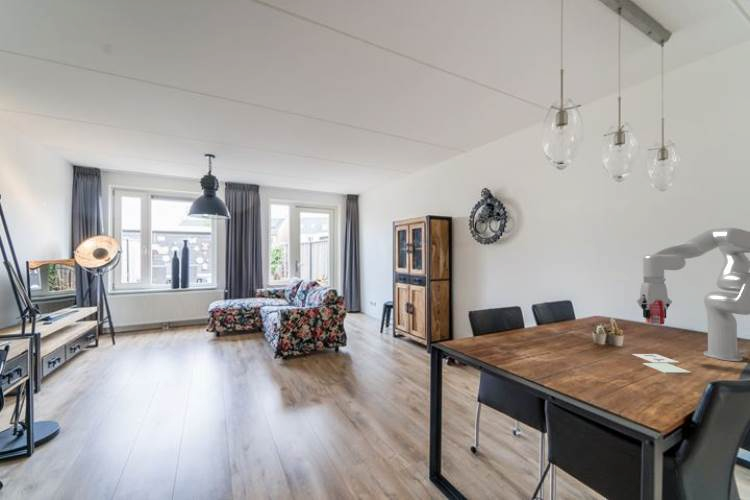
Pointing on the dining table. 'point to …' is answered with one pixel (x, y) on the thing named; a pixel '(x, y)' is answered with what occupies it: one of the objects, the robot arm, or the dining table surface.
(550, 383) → the dining table surface
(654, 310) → the soda can
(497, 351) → the dining table surface
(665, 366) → the mat
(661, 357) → the tile
